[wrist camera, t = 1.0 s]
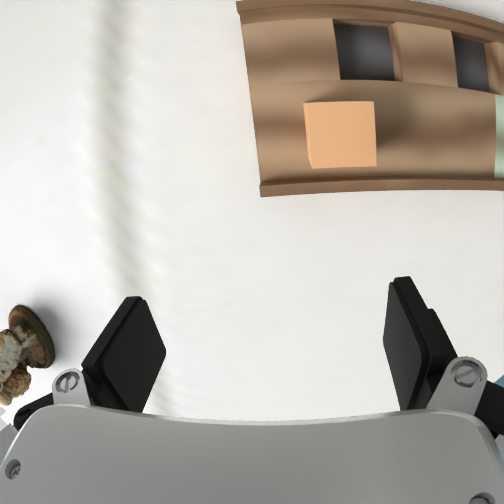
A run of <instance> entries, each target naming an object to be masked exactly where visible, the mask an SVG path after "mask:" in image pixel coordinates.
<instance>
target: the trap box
mask: <svg viewBox="0 0 504 504" xmlns="http://www.w3.org/2000/svg"><path fill="white" fill-rule="evenodd" d="M236 6H237V12H238V13H239V15H240V21H241V28H242V36H243V43H244V50H245V58H246V66H247V73H248V81H249V89H250V97H251V105H252V113H253V121H254V129H255V137H256V146H257V154H258V163H259V171H260V180H261V183H260V186H259V187H260V196H261V197H271V196H284V195H299V194H316V193H335V192H358V191H388V190H497V191H504V24H502V23H499V22H496V21H493V20H490V19H487V18H484V17H480V16H477V15H473V14H470V13H466V12H462V11H458V10H454V9H450V8H445V7H441V6H436V5H431V4H426V3H420V2H414V1H407V0H242V1H236ZM342 101H372V102H374V114H375V132H376V161H377V166H367V167H337V168H316V169H312V166H311V164H310V161H309V158H308V150H307V138H306V127H305V116H304V106H303V103H312V102H342Z"/></svg>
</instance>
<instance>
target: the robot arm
mask: <svg viewBox="0 0 504 504" xmlns="http://www.w3.org/2000/svg"><path fill="white" fill-rule="evenodd" d="M383 344H384V349H385V352H386V356H387V359H388V363H389V366H390V370H391V374H392V378H393V382H394V385H395V389H396V393H397V397H398V401H399V406H400V410H401V411H395V412H386V413H379V414H370V415H361V416H351V417H340V418H328V419H314V420H293V421H228V420H207V419H193V418H181V417H170V416H161V415H152V414H145V413H142V412H143V409H144V407H145V404H146V402H147V399H148V397H149V395H150V392H151V390H152V387H153V385H154V383H155V380H156V378H157V375H158V373H159V371H160V368H161V366H162V364H163V361H164V359H165V356H166V348H165V346H164V344H163V341H162V339H161V337H160V334H159V332H158V329H157V327H156V324H155V322H154V320H153V317H152V315H151V312H150V310H149V307H148V304H147V302H146V301H145V300H143V299H142V298H141V297H140V296H132V297H126V298H125V300H124V301H123V303H122V304H121V305H120V307H119V308H118V310H117V311H116V313H115V314H114V315H113V317H112V318H111V320H110V321H109V323H108V324H107V326H106V327H105V329H104V330H103V332H102V333H101V335H100V336H99V338H98V339H97V341H96V342H95V344H94V345H93V347H92V348H91V350H90V351H89V353H88V354H87V356H86V357H85V359H84V360H83V362H82V364H81V365H82V367H83V370H82V372H81V371H80V370H78V369H68V370H65V371H63V372H62V373H60V374H59V375H58V376H57V377H56V378H55V380H54V381H53V384H52V393H50V394H48V395H46V396H44V397H42V398H40V399H38V400H35V401H33V402H31V403H29V404H27V405H25V406H23V407H22V408H20V409H19V410H18V411H17V413H16V415H15V417H14V423H13V424H14V425H13V426H12V425H11V423H10V424H9V425H8V426H6V427H5V428H4V429H3V430H1V431H0V504H504V388H503V387H501V386H499V385H497V384H494V383H492V382H490V381H488V380H487V370H486V368H485V367H484V365H483V364H482V363H481V362H480V361H479V360H477V359H475V358H472V357H468V356H466V357H458V356H457V354H456V352H455V350H454V348H453V346H452V343H451V341H450V339H449V337H448V335H447V333H446V331H445V330H444V328H443V326H442V324H441V322H440V320H439V318H438V316H437V314H436V312H435V311H434V310H433V309H428V308H427V306H426V305H425V303H424V301H423V299H422V297H421V295H420V293H419V292H418V290H417V288H416V286H415V284H414V283H413V281H412V279H411V277H410V276H406V277H397V278H395V279H394V282H390V284H389V291H388V302H387V311H386V319H385V327H384V335H383Z"/></svg>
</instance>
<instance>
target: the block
mask: <svg viewBox="0 0 504 504" xmlns="http://www.w3.org/2000/svg"><path fill="white" fill-rule="evenodd" d="M303 106H304V116H305V127H306V138H307V150H308V158H309V161H310V164H311V166H312V169H316V168H337V167H367V166H377V161H376V132H375V114H374V102H372V101H342V102H312V103H303Z"/></svg>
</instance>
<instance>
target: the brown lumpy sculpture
mask: <svg viewBox="0 0 504 504" xmlns="http://www.w3.org/2000/svg"><path fill="white" fill-rule="evenodd" d="M54 358H55V354H54V346H53V343H52V340H51V337H50V335H49V333H48V331H47V329H46V328H45V326H44V325H43V324H42V323H40V319H39V318H38V317H37V316H36V315H35V314H34V313H33V312H31V311H30V310H29V309H27V308H26V307H24V306H20V305H18V306H15V307H14V308H13V309H12V311H11V312H10V314H9V329H5V330H3V331H2V332H0V403H1V404H3V405H5V406H7V405H9V404H11V402H12V399H13V398H14V397H18V396H19V395H23V394H24V392H26V390H28V389H29V385H30V383H31V375H30V373H28V372H27V365H28V366H30V367H31V368H34V367H35V368H48V367H50V366H51V365H52V363H53V361H54Z"/></svg>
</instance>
